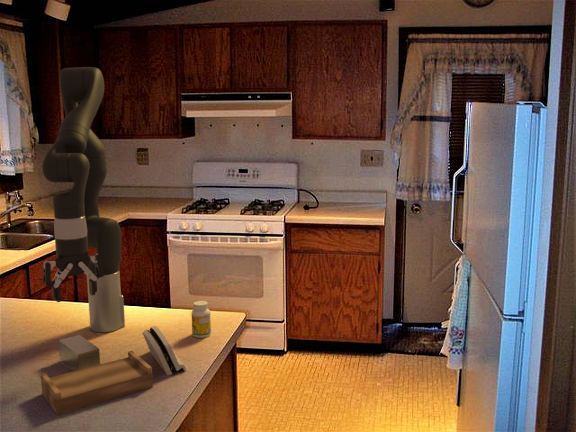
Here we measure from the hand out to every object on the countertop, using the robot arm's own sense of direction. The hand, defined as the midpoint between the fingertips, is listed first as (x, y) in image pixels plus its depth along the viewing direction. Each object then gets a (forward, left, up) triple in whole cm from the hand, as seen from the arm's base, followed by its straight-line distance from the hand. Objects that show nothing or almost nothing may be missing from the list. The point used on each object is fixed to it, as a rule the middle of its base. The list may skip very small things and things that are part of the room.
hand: (75, 297), depth 153 cm
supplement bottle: (-35, 0, -18) cm, 39 cm away
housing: (0, 0, -18) cm, 18 cm away
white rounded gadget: (-18, +10, -18) cm, 28 cm away
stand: (+1, +16, -18) cm, 24 cm away
